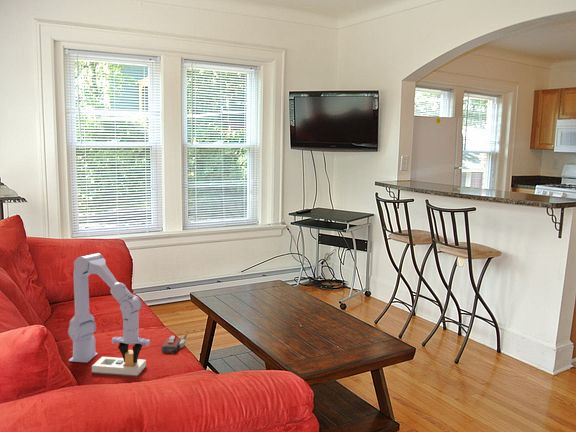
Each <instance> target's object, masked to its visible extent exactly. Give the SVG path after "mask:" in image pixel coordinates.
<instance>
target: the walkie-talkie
mask: <svg viewBox="0 0 576 432" xmlns="http://www.w3.org/2000/svg"><path fill="white" fill-rule="evenodd" d="M187 337H188V335H187V334H185V335H183V339H182V338H180V337H177V335H170V336H169V337H166V339H165V340H164V342H163V344H162V346H161V352H162V353H173V354H176V353H177V352H178V350H179V349H181V348H184V347H185V345H186V343H187V342H186V341H187Z"/></svg>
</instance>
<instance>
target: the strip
mask: <svg viewBox="0 0 576 432" xmlns="http://www.w3.org/2000/svg"><path fill="white" fill-rule="evenodd" d="M146 368H147V359H142V358H141V359H140V358H138V359H137V363H136V364H135V366H133V367H132V366H125V362H124V359H123V357H112V356H101V357H100V358H99V359H97V361H96V362H95V363H93V364H92V365H91V374H97V375H98V374H99V375H109V376H110V375H112V376H125V377H139V376H140V374H141V373H142V372H143V371H144V370H145V369H146Z"/></svg>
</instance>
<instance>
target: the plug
mask: <svg viewBox="0 0 576 432" xmlns="http://www.w3.org/2000/svg"><path fill="white" fill-rule="evenodd" d="M133 357H134V355H133V349H128V351H127V352H126V353H125V366H132V367H133V366H135V364H136V363H137V362H136V363H134V362H133Z"/></svg>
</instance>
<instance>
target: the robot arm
mask: <svg viewBox="0 0 576 432" xmlns="http://www.w3.org/2000/svg"><path fill="white" fill-rule="evenodd" d="M106 263H107V260H106V259H105V258H104V256H103V255H102V254H101V253H99V252H96V253H91V254H87V255H83V256H82V255H81V256H78V257H77V258H76V259H75V260H73V273H72V275H73V295H74V299H73V300H74V301H73V302H74V315H73V317H72V318H71V319H70V320H69V326H68V330H67V334H68V336H69V338H70V339H71V340H72V357H71V358H69V359H68V362H75V363H89V362H90V361H91V360H92V359H94V358H95V356H97V355H98V352H96V338H95V336H94V333H95V332H96V331H97V324H96V322H95V316H94V315H92V314H91V313H90V293H89V289H90V287H89V276H91V275H98V277H99V278H100V279H101V280H102V281H103V282H104V283H105V284H106V285H107V286H108V287H109V288H110V294H111V295H112V296H113V298H114V299H115V300H116V301H117V303H118V304H119V309H120V310H119V311H120V312H121V317H122V321H123V322H122V324H123V325H122V336H114V337H112V338H111V344H118V346H117V348H118V350H119V351H120V354H121V356H122V358H123V359H124V362H125V353H126V352H127V351H128V350H129V345H133V346H132V349H131V350H133V355H134V357H133V362H134V363H136V362H137V359H139V355H140V352H141V349H142V348H143V346H146V347H149V346H150V345H151V343H150V342H151V340H150V339H147V338H142V337H139V333H140V332H139V330H140V329H139V328H140V327H139V324H140V323H139V319H140V318H139V316H140V314H139V313H140V310H141V309H142V307H143V303H142V300H141V298H140V297H139V296H138V295H135V294H132V293H131V291H130V290H129V289H128V288H127V285H126V284H125V283H123V282H119V281H118V280H117V279H116V277H115V276H114V274H113V273H112V272H111V270H110V269H109V268H108V266H107V264H106Z"/></svg>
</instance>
